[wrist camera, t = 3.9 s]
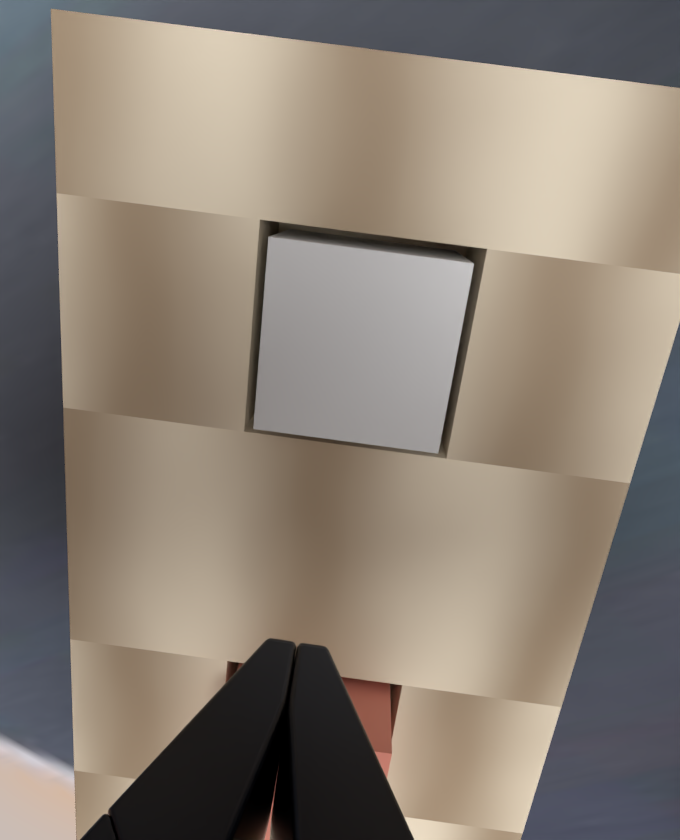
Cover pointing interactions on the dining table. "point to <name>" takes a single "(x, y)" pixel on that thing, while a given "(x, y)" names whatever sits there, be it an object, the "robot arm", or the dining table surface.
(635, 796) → the dining table surface
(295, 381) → the button grey
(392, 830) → the robot arm
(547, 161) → the console
